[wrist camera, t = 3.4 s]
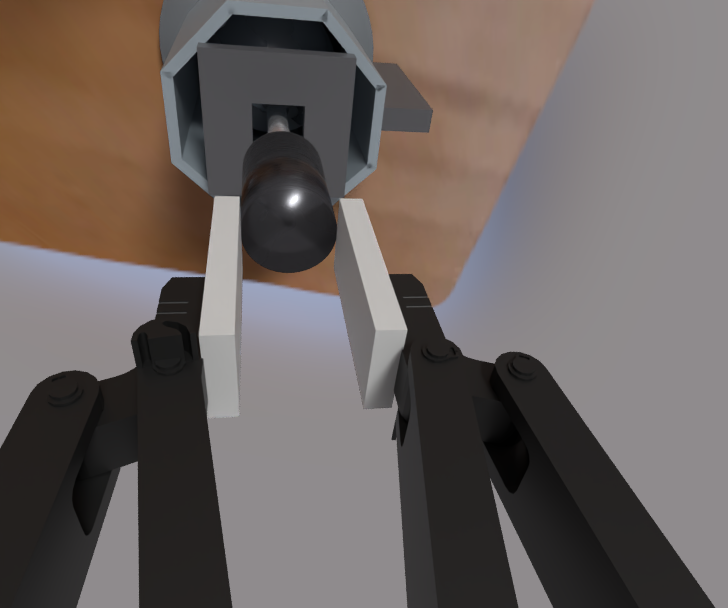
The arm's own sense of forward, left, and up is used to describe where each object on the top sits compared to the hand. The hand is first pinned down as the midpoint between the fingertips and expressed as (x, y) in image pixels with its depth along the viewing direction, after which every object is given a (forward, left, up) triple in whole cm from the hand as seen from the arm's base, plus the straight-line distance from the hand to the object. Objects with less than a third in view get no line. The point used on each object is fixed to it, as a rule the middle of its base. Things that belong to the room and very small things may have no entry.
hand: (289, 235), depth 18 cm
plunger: (0, 0, -21) cm, 21 cm away
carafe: (+1, 0, -23) cm, 23 cm away
